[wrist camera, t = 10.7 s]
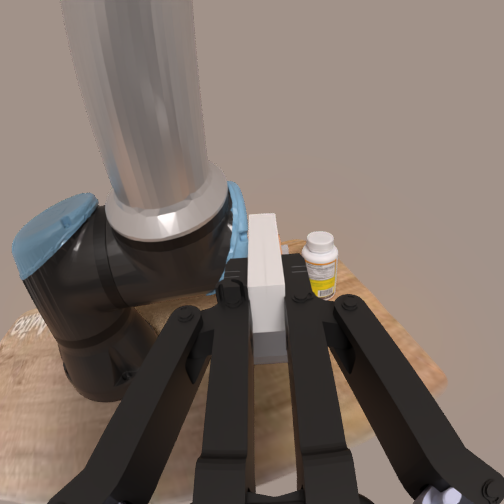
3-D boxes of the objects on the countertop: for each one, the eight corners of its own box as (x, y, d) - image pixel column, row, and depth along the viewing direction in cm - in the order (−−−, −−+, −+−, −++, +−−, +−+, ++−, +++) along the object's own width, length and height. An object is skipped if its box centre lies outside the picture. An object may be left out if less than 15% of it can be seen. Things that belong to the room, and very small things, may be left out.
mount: (217, 365, 38) (207, 325, 35) (226, 287, 53) (220, 249, 49) (306, 360, 38) (308, 319, 34) (293, 282, 52) (293, 244, 49)
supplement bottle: (311, 278, 53) (312, 225, 48) (340, 288, 50) (345, 233, 45) (295, 296, 49) (294, 240, 44) (326, 307, 46) (329, 250, 41)
